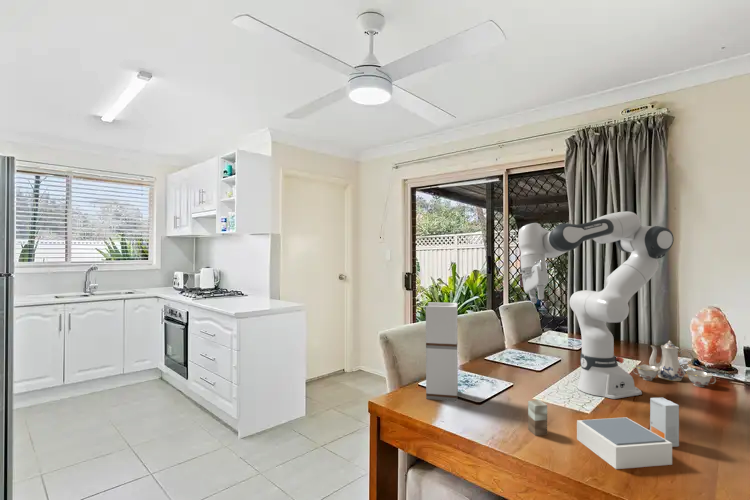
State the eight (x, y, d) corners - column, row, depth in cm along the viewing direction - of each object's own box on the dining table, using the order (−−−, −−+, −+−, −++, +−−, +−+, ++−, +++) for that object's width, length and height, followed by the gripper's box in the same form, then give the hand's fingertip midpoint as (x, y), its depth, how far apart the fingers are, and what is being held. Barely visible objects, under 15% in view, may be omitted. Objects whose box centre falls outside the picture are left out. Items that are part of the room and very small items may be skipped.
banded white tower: (457, 391, 158) (457, 302, 158) (457, 401, 148) (456, 306, 148) (428, 389, 161) (428, 302, 161) (426, 398, 151) (425, 306, 150)
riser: (626, 435, 120) (626, 415, 120) (672, 464, 104) (672, 441, 104) (576, 439, 118) (576, 419, 118) (616, 469, 102) (615, 445, 102)
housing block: (540, 428, 125) (540, 400, 125) (547, 434, 121) (547, 405, 121) (528, 429, 125) (528, 400, 125) (534, 435, 121) (534, 405, 121)
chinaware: (636, 385, 168) (637, 347, 166) (628, 370, 183) (629, 335, 182) (720, 394, 157) (721, 353, 156) (703, 377, 173) (705, 340, 171)
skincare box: (649, 437, 119) (649, 397, 119) (662, 436, 120) (662, 396, 119) (665, 447, 113) (665, 405, 113) (679, 447, 114) (679, 405, 113)
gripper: (550, 257, 141) (555, 296, 137) (534, 270, 161) (538, 304, 157) (531, 258, 142) (536, 296, 138) (518, 270, 161) (522, 305, 157)
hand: (537, 301), depth 147 cm, fingers open, 8 cm apart
